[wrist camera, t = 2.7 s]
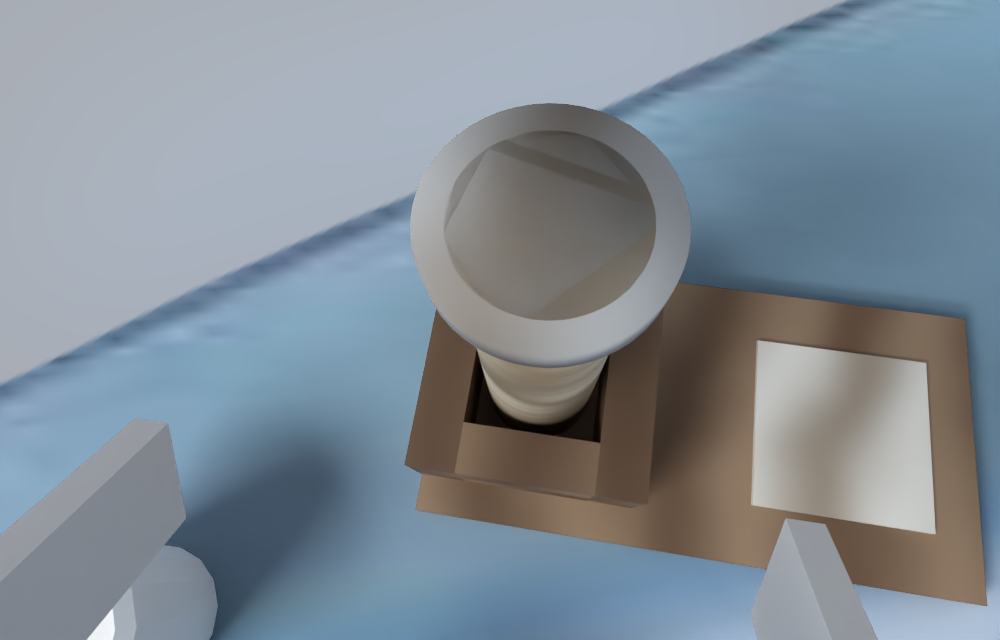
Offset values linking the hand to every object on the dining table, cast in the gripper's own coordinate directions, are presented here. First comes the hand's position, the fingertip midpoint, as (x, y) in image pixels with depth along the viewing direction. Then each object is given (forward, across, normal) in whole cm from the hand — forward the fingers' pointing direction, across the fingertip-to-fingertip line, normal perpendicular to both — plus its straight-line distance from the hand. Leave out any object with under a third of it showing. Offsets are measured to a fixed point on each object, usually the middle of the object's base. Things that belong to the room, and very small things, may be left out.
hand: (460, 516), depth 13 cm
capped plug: (+14, +1, -5) cm, 15 cm away
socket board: (+15, +8, -6) cm, 18 cm away
